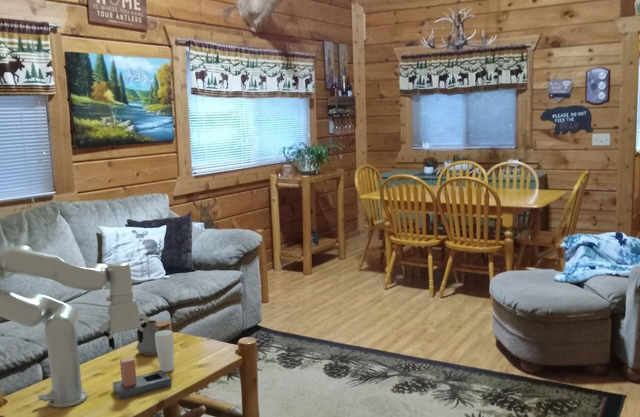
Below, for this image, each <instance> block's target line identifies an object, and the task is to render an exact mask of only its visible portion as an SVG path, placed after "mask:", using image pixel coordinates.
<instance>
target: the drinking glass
mask: <svg viewBox="0 0 640 417" xmlns="http://www.w3.org/2000/svg"><path fill="white" fill-rule="evenodd" d="M155 343H156V349H157V354H156V355H157V359H158V367H159V371H160V370H162V371H163V372H164V373H169V372H172V371H173V370H174V369H175V366H174V364H175V363H174V360H175V359H174V350H175V347H174V344H175V343H174V332H173V331H172V330H171V329H164V330H163V329H162V330H158V332H156V333H155Z"/></svg>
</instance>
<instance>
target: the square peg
mask: <svg viewBox="0 0 640 417" xmlns="http://www.w3.org/2000/svg"><path fill="white" fill-rule="evenodd" d="M119 363H120V364H119V365H120V373H121V374H120V376H121V380H122V384H123V385H124V386H125V387H127V386H131V385H135V384H137V382H136V376H137V371H136V362H135V359H134V358H133V357H132V356H129V357H125V358H120V359H119Z"/></svg>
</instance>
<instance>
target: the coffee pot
mask: <svg viewBox="0 0 640 417" xmlns="http://www.w3.org/2000/svg"><path fill="white" fill-rule="evenodd" d="M142 323H143V321H141V324H142ZM157 323H158V321H157V320H152V319H151V320H150V319H149V320H148V323H147V326H146V327H145V328H144V331H143V339H142V343H140V342H139V341H137V345H136V349H137V351H138V352H139V353H140V354H141V355H143V356H153V355H157V349H156V343H155V333H156V332H159V331H162V330H163V329H164V330H165V329H166V328H167V330H170V328H169V327H170V326H172V324H171V323H167V324H164V325H162V326H161V325H160V326H159V327H158V328H157Z"/></svg>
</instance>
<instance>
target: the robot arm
mask: <svg viewBox="0 0 640 417" xmlns="http://www.w3.org/2000/svg"><path fill="white" fill-rule="evenodd" d="M14 275H20V276H24V277H25V276H26V277H32V278H37V279H42V280H47V281H51V282H54V283H56V284H58V285H62V286H64V287H68V288H72V289H76V290H82V291H89V292H96V291H99V290H101V289H102V288H103V287H104V286H105V285H106V284H107V283H108V287H109V296H108V297H105V298H106V300H105V301H106V302H109V304H108V312H107V313H108V315H107V316H108V318H107V319H108V320H107V321H105V322H104V323H102V324H101V325H99V327H98V329H99V331H100V332H101V333H102V335H104V336H105V338H107V340H108V346H109V348H111V350H115V349H116V347H115V338H114V335H115V334H118V333H122V332H125V331H126V332H127V331H130V330H131V331H132V330H135V329H137V330H136V336H137V342H140V343H142V339H143V331H144V328H145V327H146V326H147V323H148V321H149V320H150V317H149V316H147V315H143V314H140V311H139V306H138V303H137V299H135V298H134V294H133V283H132V274H131V265H130V264H129V263H128V262H123V261H122V262H121V261H119V262H114V263H93V264H91V265H90V266H88V267H81V266H77V265H74V264H71V263H69V262H66V261H65V260H63V259H62V257H60V256H58V255H56V254H50V253H44V252H38V251H35V250H34V249H32V247H30V246H29V245H25V244H17V245H15V246H13V247H11V248H10V249H7V250H6V251H4V252H3V253H1V254H0V283H2V282H4V281H5V280H7V279H9V278H11V277H12V276H14ZM79 315H80V314H79V313H78V310H77V309H76V308H75V307H73V306H71V305H70V304H67V303H65V302H62V301H60V300H57V299H55V298H53V297H50V296H48V295H44V294H41V293H31V294H27V295H26V296H22V295H20V294H16V293H15V292H13V291H10V290H5V289H2V288H0V317H1V318H4V319H6V320H8V321H11V322H14V323H16V324H19V325H21V326H23V327H25V328H26V327H27V328H35V327H37V326H38V325H39V324H44V337H45V341H46V346H47V355H48V362H49V372H50V380H51V382H50V383H51V388H50V389H49V390H50V391H47V393H44V394H43V393H42V394H39V395H37V399H38V402H41V401H43V402H48V405H49V406H51V407H53V408H56V409H57V408H58V409H59V408H60V409H61V408H69V407H73V406H76V405H79V404H81V403H83V402H84V401H85V400H87V398H88V392H87V391H86V390H84V389H83V386H82V385H83V384H82V377H81V376H82V375H81V366H80V364H81V363H80V357H79V356H80V355H79V348H78V347H79V346H78V340H77V335H76V328H77V325H78V324H79V320H80V319H79V318H80V316H79ZM141 320H143V321H141ZM142 322H143V323H142ZM141 323H142V324H141ZM107 327H108V328H109V330H108V331H106V328H107Z"/></svg>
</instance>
